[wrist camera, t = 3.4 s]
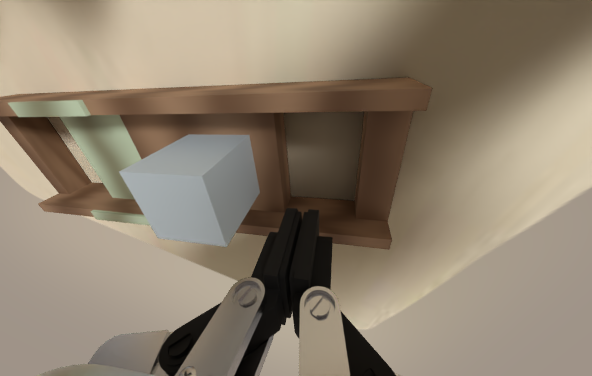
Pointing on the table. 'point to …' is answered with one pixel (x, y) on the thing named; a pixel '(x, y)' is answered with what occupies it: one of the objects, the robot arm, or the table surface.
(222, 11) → the table surface
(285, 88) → the box
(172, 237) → the block
